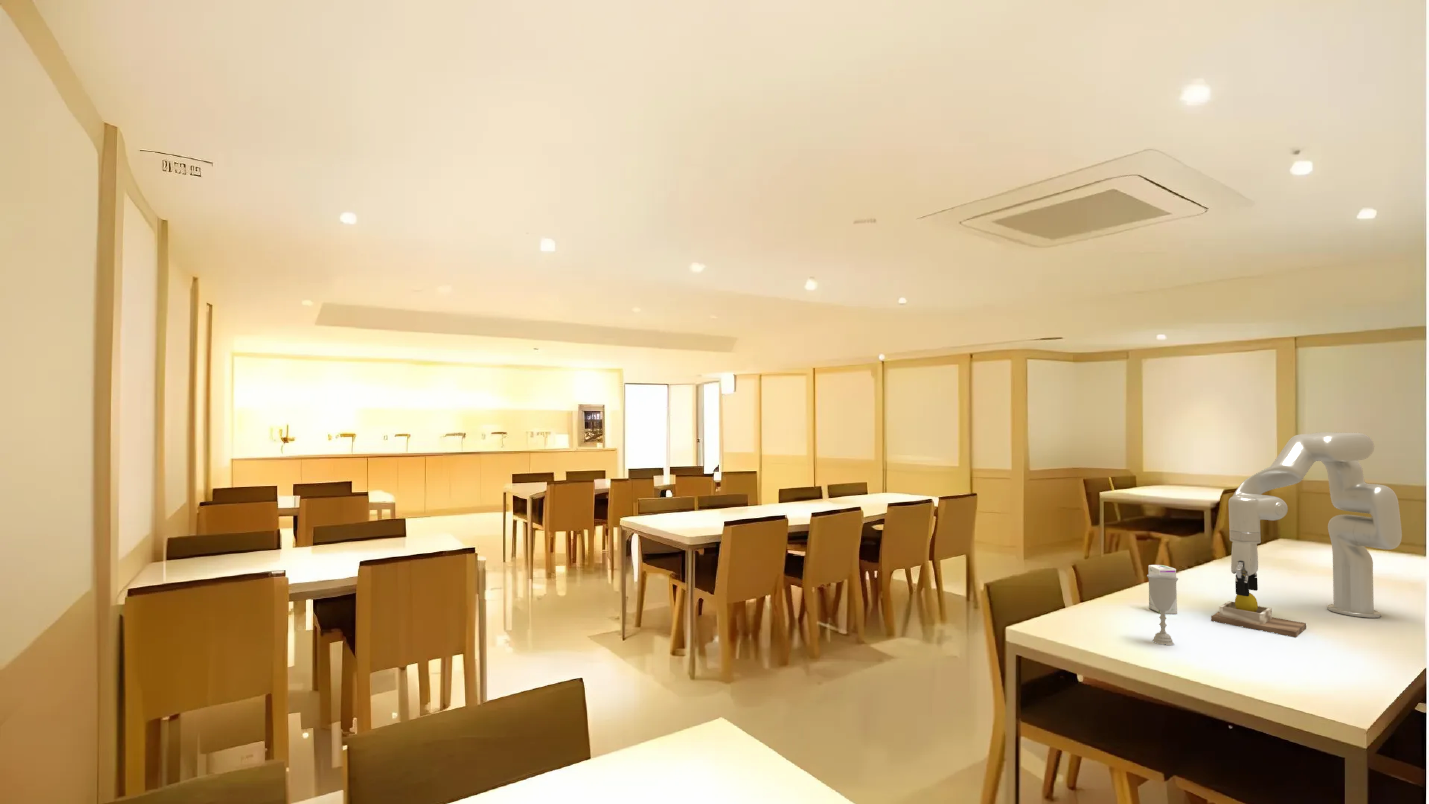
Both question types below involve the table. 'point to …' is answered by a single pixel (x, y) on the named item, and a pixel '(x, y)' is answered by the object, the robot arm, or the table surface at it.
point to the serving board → (1257, 620)
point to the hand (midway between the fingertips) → (1246, 592)
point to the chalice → (1162, 601)
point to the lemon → (1246, 603)
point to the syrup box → (1163, 571)
